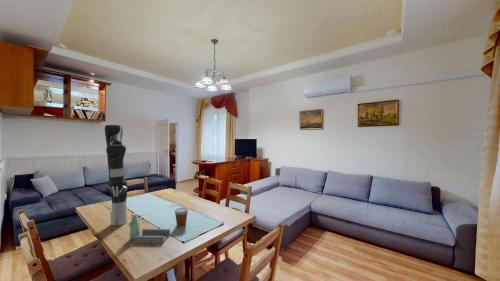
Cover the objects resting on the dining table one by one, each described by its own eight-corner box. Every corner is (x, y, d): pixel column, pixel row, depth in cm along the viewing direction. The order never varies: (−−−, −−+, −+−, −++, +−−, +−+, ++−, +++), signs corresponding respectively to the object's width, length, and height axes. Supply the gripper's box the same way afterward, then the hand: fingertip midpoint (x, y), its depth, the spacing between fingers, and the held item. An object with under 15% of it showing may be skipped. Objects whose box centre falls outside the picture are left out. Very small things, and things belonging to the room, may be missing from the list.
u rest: (134, 242, 124) (134, 236, 123) (143, 234, 134) (143, 228, 134) (163, 243, 123) (162, 237, 123) (169, 234, 134) (169, 229, 134)
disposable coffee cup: (176, 222, 152) (176, 207, 152) (189, 222, 153) (189, 207, 152) (172, 228, 142) (172, 212, 142) (186, 228, 143) (186, 212, 143)
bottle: (128, 240, 126) (127, 215, 126) (133, 236, 131) (132, 212, 131) (136, 240, 126) (135, 215, 126) (140, 236, 131) (140, 212, 131)
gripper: (102, 176, 124) (102, 203, 124) (123, 176, 124) (123, 203, 124) (110, 174, 131) (111, 199, 132) (130, 174, 131) (130, 199, 132)
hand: (117, 201), depth 128 cm, fingers closed
